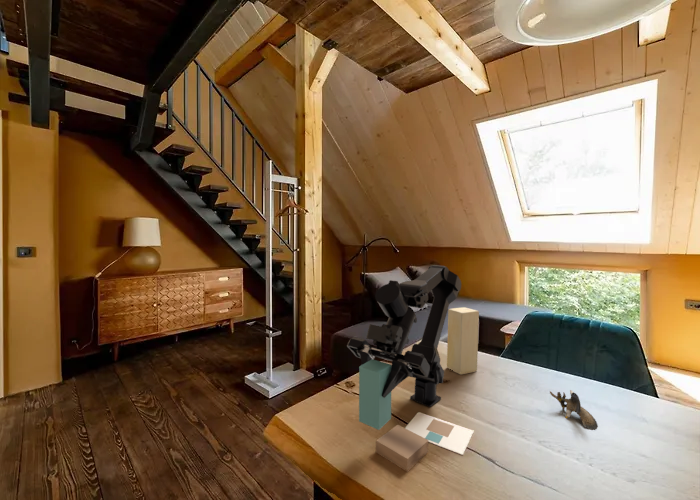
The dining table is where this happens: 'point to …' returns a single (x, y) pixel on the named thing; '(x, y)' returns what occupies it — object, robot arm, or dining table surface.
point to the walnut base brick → (402, 447)
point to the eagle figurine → (576, 409)
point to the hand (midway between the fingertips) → (372, 392)
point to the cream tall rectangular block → (462, 340)
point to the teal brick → (374, 394)
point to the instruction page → (441, 432)
